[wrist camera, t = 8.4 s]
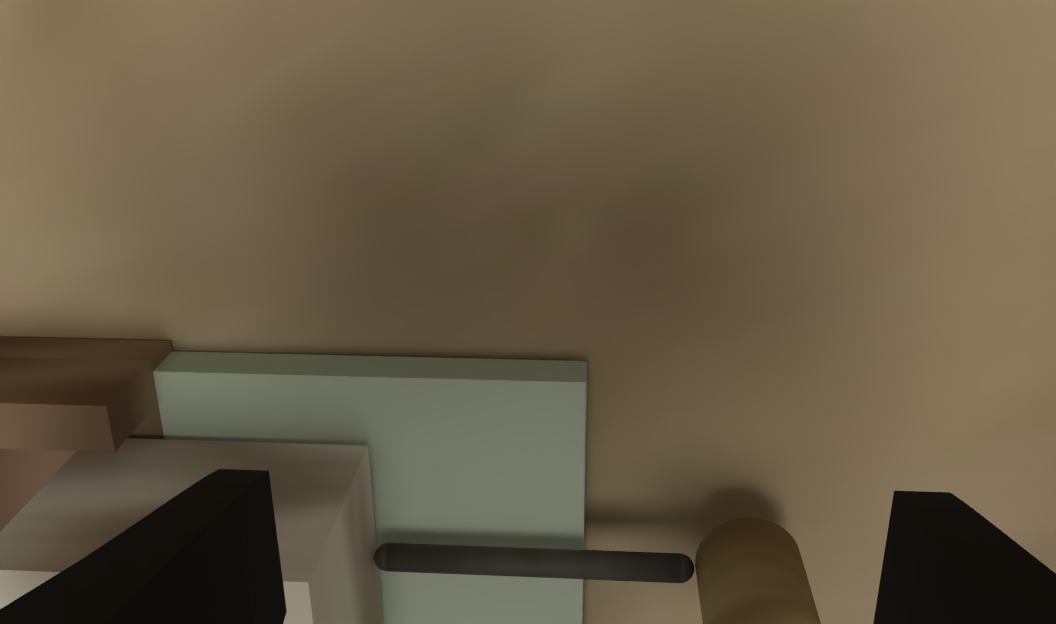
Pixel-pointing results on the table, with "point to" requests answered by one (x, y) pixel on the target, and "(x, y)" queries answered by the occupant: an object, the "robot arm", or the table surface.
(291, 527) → the block rod cylinder assembly
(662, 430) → the table surface
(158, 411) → the lane shelf
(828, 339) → the table surface
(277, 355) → the pad
